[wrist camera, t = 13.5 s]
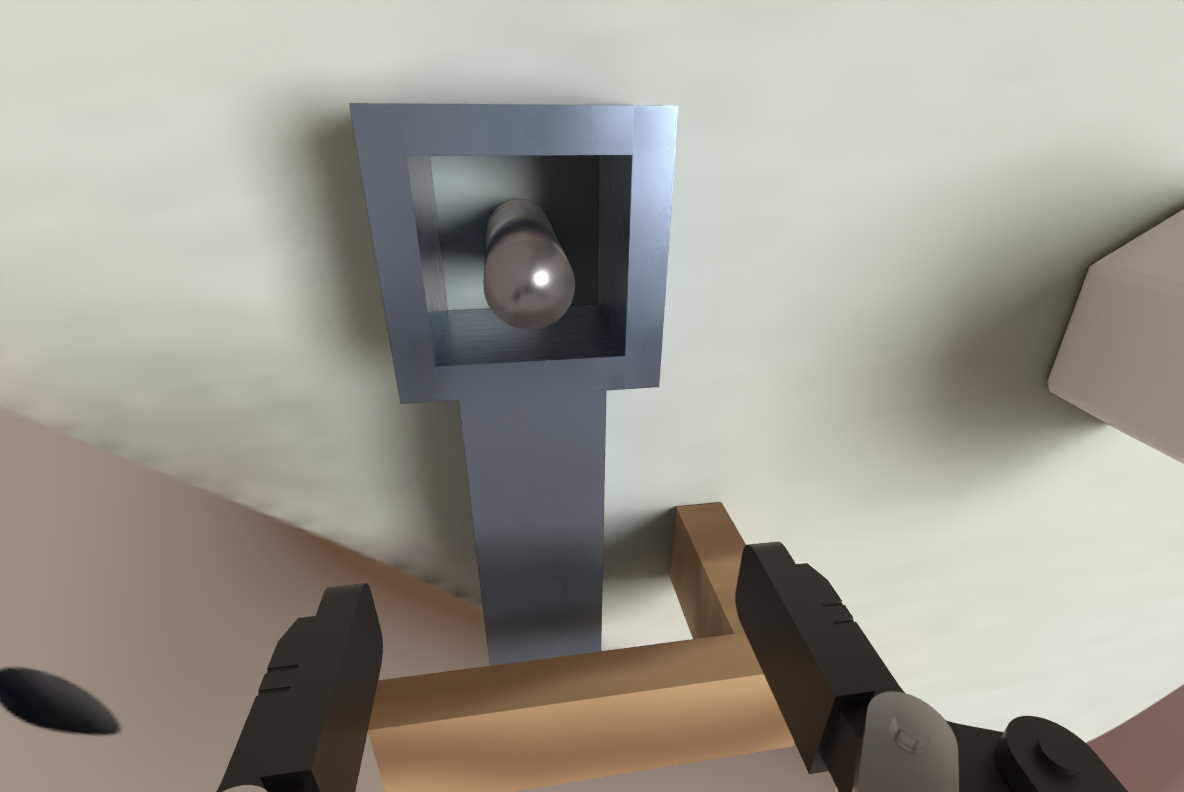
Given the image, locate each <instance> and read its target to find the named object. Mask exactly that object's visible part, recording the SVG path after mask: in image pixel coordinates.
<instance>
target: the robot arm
mask: <svg viewBox="0 0 1184 792" xmlns="http://www.w3.org/2000/svg"><path fill="white" fill-rule="evenodd" d="M735 604H736V610H737V614H738V618H739V621H740V623H741V625H742V628H743V630H744V632H745V634H746V636H747V639H748V641H749V643H750V645H751V647H752V650H753V652H754V654H755V656H756V658H757V661H758V663H759V665H760V667H761V669H762V671H763V674H764V676H765V678H766V680H767V682H768V685H769V687H770V689H771V691H772V693H773V696H774V698H775V700H776V702H777V704H778V707H779V709H780V711H781V713H782V715H783V718H784V720H785V722H786V724H787V726H788V729H789V731H790V733H791V735H792V737H793V740H794V742H795V744H796V746H797V748H798V750H799V753H800V755H801V757H802V759H803V762H804V764H805V766H806V768H807V770H808V773H809V774H813V773H819V772H825V771H829V772H830V774H831V776H832V778H833V781H834V783H835V785H836V790H835V792H1128V791H1127V790H1126V789H1125V788H1124V787H1123V786H1122V784H1121V783H1120V782H1119V781H1118V779H1117V778H1116V777H1115V776H1114V775H1113V773H1112V772H1111V771H1110V770H1109V769H1108V768H1107V766H1106V765H1105V764H1104V763H1103V762H1102V760H1101V759H1100V758H1099V757H1098V756H1097V754H1096V753H1095V752H1094V751H1093V750H1092V749H1091V748H1090V747H1089V746H1088V745H1087V744H1086V743H1085V742H1084V741H1083V740H1081V739H1080V738H1079V737H1078V736H1076V735H1075V734H1074V733H1072V732H1071V731H1069V730H1067V729H1066V728H1064V727H1062V726H1060V725H1059V724H1057V723H1054V722H1052V721H1049V720H1047V719H1044V718H1040V717H1035V716H1021V717H1017V718H1015V719H1013V720H1012V721H1011V722H1010V723H1009V724H1008V726H1007V728H1006V729H1005V731H1004V732H999V731H994V730H988V729H983V728H977V727H972V726H967V725H961V724H957V723H953V722H949V721H946V720H945V719H944V718H943V717H942V716H941V715H940V714H939V713H938V712H937V711H936V710H935V709H934V708H932V707H931V706H930V705H928V704H927V703H925V702H924V701H922V700H920V699H918V698H916V697H914V696H912V695H909V694H906V693H905V692H904V691H903V690H902V689H901V687H900V686H899V685H898V683H897V682H896V680H895V679H894V677H893V676H892V674H891V673H890V671H889V670H888V668H887V667H886V666H885V664H884V663H883V661H882V660H881V658H880V657H879V655H878V654H877V652H876V651H875V649H874V648H873V646H872V645H871V643H870V642H869V640H868V639H867V637H866V636H865V634H864V633H863V631H862V630H861V628H860V627H859V625H858V624H857V623H856V622H854V621H853V617H852V615H851V614H850V612H849V611H848V609H847V608H846V606H845V605H843V604H842V600H841V599H840V597H839V596H838V594H837V593H836V591H835V590H834V588H833V587H832V585H831V584H830V583H829V581H828V580H827V579H826V578H825V577H823V576H822V575H821V574H820V573H818V572H817V571H816V570H815V569H814V568H812V567H811V566H810V565H809V564H807V563H805V564H795V562H794V560H793V559H792V557H791V556H790V554H789V552H788V551H787V549H786V548H785V546H784V545H783V544H782V543H781V542H769V543H760V544H750V545H746V546H745V547H744V549H743V552H742V558H741V563H740V569H739V575H738V580H737V586H736V592H735ZM382 653H383V642H382V633H381V629H380V625H379V621H378V617H377V613H376V609H375V605H374V601H373V598H372V594H371V590H370V587H369V585H368V584H367V583H364V584H355V585H345V586H335V587H328V588H327V589H326V590H325V592H324V595H323V597H322V600H321V602H320V605H319V608H318V611H317V614H316V616H313V617H304V618H298V619H297V620H296V621H295V622H294V624H293V625H292V626H291V627H290V628H289V630H288V631H287V632H286V633H285V634H284V635H283V637H282V638H281V639H280V640H279V641H278V643H277V646H276V648H275V650H274V653H273V655H272V658H271V661H270V663H269V665H268V668H267V669H268V671H267V673H266V674H265V675H264V678H263V680H262V683H261V685H260V688H259V694H258V696H256V698H255V700H254V703H253V705H252V708H251V710H250V713H249V715H248V717H247V720H246V722H245V725H244V728H243V730H242V732H241V735H240V737H239V740H238V742H237V745H236V747H235V750H234V752H233V755H232V757H231V760H230V762H229V765H228V767H227V770H226V772H225V775H224V777H223V780H222V782H221V784H220V786H219V788H218V790H217V791H216V792H355V790H356V785H357V780H358V776H359V771H360V765H361V761H362V756H363V751H364V746H365V742H366V736H367V732H368V727H369V722H370V717H371V713H372V708H373V703H374V698H375V693H376V688H377V683H378V679H379V674H380V669H381V663H382Z"/></svg>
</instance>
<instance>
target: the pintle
mask: <svg viewBox="0 0 1184 792" xmlns="http://www.w3.org/2000/svg"><path fill="white" fill-rule="evenodd" d="M574 292H575V279H574V274H573V271H572V268H571V266H570V264H569V262H568V260H567V258H566V256H565V253H564V251H563V249H562V247H561V245H560V243H559V241H558V239H557V237H556V235H555V233H554V230H553V228H552V226H551V224H550V222H549V220H548V218H547V216H546V214H545V213H544V212H543V211H542V209H541V208H540V207H538V206H537V205H536V204H534V203H532V202H530V201H527V200H522V199H513V200H509V201H506V202H504V203H502V204H501V205H499V206H498V207H497V208H496V209H495V210H494V211H493V212H492V214H491V216H490V218H489V220H488V224H487V234H486V251H485V267H484V294H485V297H486V300H487V303H488V305H489V307H490V308H491V310H492V311H493V312H494V314H495V315H496V316H497V317H498V318H499V319H501V320H502V321H503V322H505V323H507V324H508V325H511V326H513V327H516V328H520V329H529V330H532V329H539V328H543V327H546V326H549V325H551V324H552V323H554V322H556V321H557V320H558V319H560V318H561V317H562V316H563V315H564V314H565V312H566V311H567V310H568V308H569V306H570V304H571V302H572V300H573V297H574Z"/></svg>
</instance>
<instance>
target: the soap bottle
mask: <svg viewBox="0 0 1184 792" xmlns="http://www.w3.org/2000/svg"><path fill="white" fill-rule="evenodd" d="M1047 383H1048V387H1049V391H1050V392H1051V393H1053V394H1055V395H1057V396H1058V397H1060V398H1062V399H1064V400H1066V401H1067V402H1069V403H1071V404H1073V405H1075V406H1076V407H1078V408H1080V409H1082V410H1083V411H1085V412H1087V413H1089V414H1091V415H1092V416H1094V417H1096V418H1098V419H1100V420H1101V421H1103V422H1105V423H1107V424H1108V425H1110V426H1112V427H1114V428H1116V429H1118V430H1120V431H1121V432H1123V433H1125V434H1127V435H1129V436H1131V437H1133V438H1135V439H1137V440H1139V441H1141V442H1143V443H1145V444H1147V445H1148V446H1150V447H1152V448H1154V449H1156V450H1158V451H1160V452H1162V453H1164V454H1166V455H1168V456H1170V457H1172V458H1174V459H1175V460H1177V461H1179V462H1181V463H1183V464H1184V209H1183V210H1181V211H1180V212H1178V213H1176V214H1175V215H1173V216H1172V217H1170V218H1168V219H1167V220H1165V221H1163V222H1162V223H1160V224H1158V225H1157V226H1155V227H1153V228H1152V229H1150V230H1148V231H1147V232H1145V233H1143V234H1142V235H1140V236H1139V237H1137V238H1135V239H1134V240H1132V241H1130V242H1129V243H1127V244H1125V245H1124V246H1122V247H1120V248H1119V249H1117V250H1115V251H1114V252H1112V253H1110V254H1109V255H1107V256H1106V257H1104V258H1102V259H1101V260H1099V261H1097V262H1096V263H1094V264H1093V265H1091V266H1089V269H1088V272H1087V274H1086V277H1085V280H1084V283H1083V285H1082V288H1081V291H1080V293H1079V296H1078V299H1077V302H1076V304H1075V307H1074V310H1073V313H1072V315H1071V318H1070V321H1069V323H1068V326H1067V329H1066V332H1065V334H1064V337H1063V340H1062V343H1061V345H1060V348H1059V351H1058V353H1057V356H1056V359H1055V362H1054V364H1053V367H1052V370H1051V373H1050V375H1049V378H1048V381H1047Z"/></svg>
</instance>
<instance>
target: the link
mask: <svg viewBox="0 0 1184 792" xmlns="http://www.w3.org/2000/svg"><path fill="white" fill-rule="evenodd" d="M349 105H350V111H351V117H352V123H353V129H354V135H355V140H356V146H357V152H358V158H359V164H360V170H361V175H362V181H363V187H364V193H365V199H366V205H367V210H368V216H369V222H370V228H371V234H372V240H373V246H374V251H375V257H376V263H377V269H378V275H379V281H380V286H381V292H382V298H383V304H384V310H385V316H386V321H387V327H388V333H389V339H390V345H391V351H392V357H393V362H394V368H395V374H396V380H397V386H398V392H399V397H400V403H401V404H404V403H419V402H435V401H450V400H459V406H460V414H461V423H462V432H463V440H464V449H465V457H466V466H467V475H468V483H469V492H470V500H471V509H472V517H473V526H474V535H475V543H476V552H477V560H478V569H479V578H480V586H481V595H482V603H483V612H484V620H485V629H486V638H487V646H488V654H489V663H490V666H493V665H501V664H508V663H516V662H524V661H531V660H539V659H547V658H554V657H562V656H570V655H577V654H585V653H592V652H600V651H601V630H602V581H603V532H604V483H605V434H606V390H621V389H636V388H652V387H659V380H660V366H661V351H662V337H663V322H664V307H665V293H666V278H667V264H668V249H669V235H670V220H671V205H672V191H673V176H674V162H675V147H676V133H677V118H678V106H629V105H500V104H370V103H349ZM492 155H600V187H599V271H598V304H595V305H571V306H569V308H568V310H567V311H566V312H565V314H564V315H563V316H562V317H561V318H560V319H558V320H557V321H556V322H554V323H552V324H551V325H549V326H546V327H543V328H539V329H532V330H529V329H520V328H516V327H513V326H511V325H508V324H507V323H505V322H503V321H502V320H501V319H499V318H498V317H497V316H496V315H495V314H494V312H493V311H492V310H491V309H477V310H454V311H448V309H447V300H446V292H445V283H444V275H443V266H442V257H441V249H440V240H439V232H438V223H437V215H436V206H435V198H434V189H433V181H432V172H431V163H430V156H492Z"/></svg>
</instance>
